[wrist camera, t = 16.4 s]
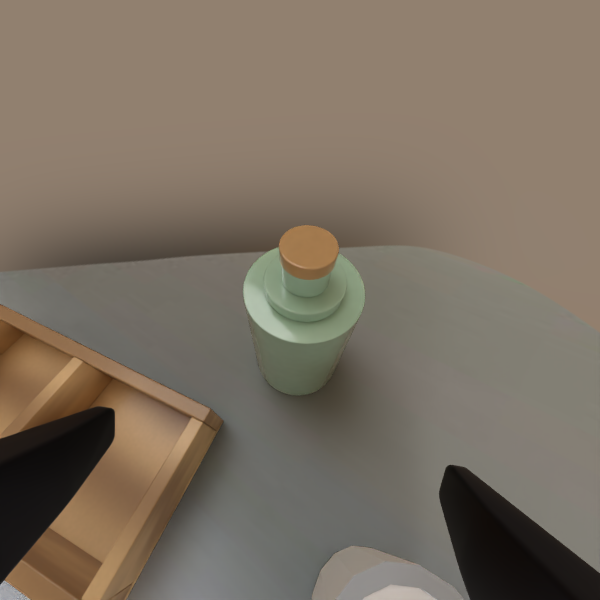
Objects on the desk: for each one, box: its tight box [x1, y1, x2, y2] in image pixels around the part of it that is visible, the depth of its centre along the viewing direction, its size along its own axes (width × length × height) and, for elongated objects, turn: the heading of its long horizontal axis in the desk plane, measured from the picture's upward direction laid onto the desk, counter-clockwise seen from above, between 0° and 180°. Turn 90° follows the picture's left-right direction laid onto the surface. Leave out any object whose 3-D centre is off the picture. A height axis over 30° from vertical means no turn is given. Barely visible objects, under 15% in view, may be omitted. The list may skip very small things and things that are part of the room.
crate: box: [0, 304, 223, 600], centre depth 17 cm, size 10×18×4 cm, turn 67°
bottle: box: [243, 225, 365, 395], centre depth 17 cm, size 6×6×13 cm
